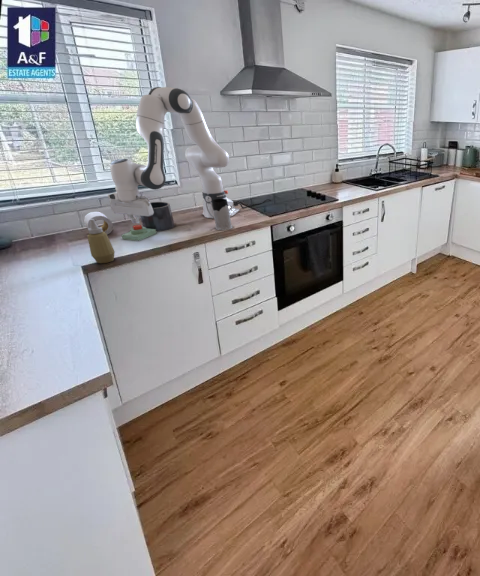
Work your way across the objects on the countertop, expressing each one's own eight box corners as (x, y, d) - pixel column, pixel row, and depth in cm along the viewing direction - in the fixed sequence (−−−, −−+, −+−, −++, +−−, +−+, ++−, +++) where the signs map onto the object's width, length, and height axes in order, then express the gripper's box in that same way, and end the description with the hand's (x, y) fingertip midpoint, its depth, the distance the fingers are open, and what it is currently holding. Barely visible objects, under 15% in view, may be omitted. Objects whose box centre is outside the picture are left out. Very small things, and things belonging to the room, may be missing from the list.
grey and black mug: (224, 231, 196) (219, 203, 189) (204, 227, 200) (198, 199, 194) (236, 226, 203) (231, 199, 196) (216, 223, 208) (211, 196, 201)
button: (137, 227, 185) (136, 224, 184) (144, 228, 184) (143, 225, 183) (132, 230, 182) (131, 226, 181) (138, 230, 181) (137, 227, 180)
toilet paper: (115, 233, 187) (109, 214, 182) (91, 237, 180) (84, 217, 176) (111, 228, 193) (105, 210, 188) (87, 232, 186) (80, 213, 182)
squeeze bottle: (92, 266, 151) (77, 223, 143) (95, 259, 157) (81, 218, 149) (116, 263, 154) (102, 221, 146) (118, 256, 161) (105, 216, 153)
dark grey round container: (156, 222, 205) (151, 200, 200) (180, 224, 203) (175, 202, 198) (136, 230, 192) (130, 207, 187) (162, 232, 190) (156, 209, 185)
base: (141, 231, 190) (138, 224, 189) (156, 233, 189) (154, 225, 187) (122, 239, 180) (120, 231, 178) (138, 240, 179) (136, 232, 177)
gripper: (152, 195, 177) (159, 223, 183) (115, 192, 179) (123, 219, 186) (143, 198, 171) (150, 226, 177) (104, 195, 174) (112, 223, 180)
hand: (136, 223), depth 181 cm, fingers closed
